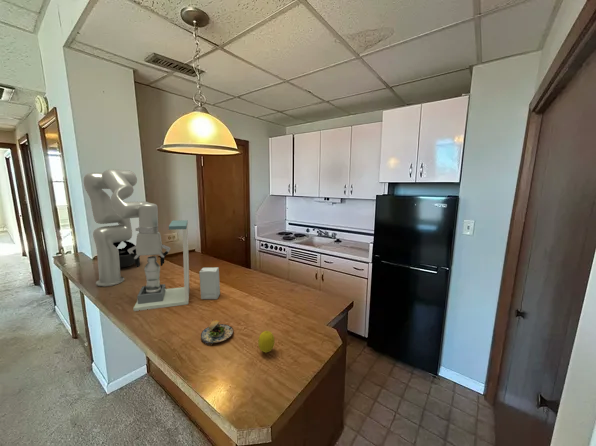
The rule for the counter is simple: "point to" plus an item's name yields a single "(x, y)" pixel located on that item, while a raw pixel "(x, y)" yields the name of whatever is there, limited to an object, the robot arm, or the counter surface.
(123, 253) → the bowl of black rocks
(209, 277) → the skincare box
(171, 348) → the counter surface
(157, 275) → the grey tall bottle shape
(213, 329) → the plate of salad
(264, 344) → the lemon
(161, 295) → the socket stand
